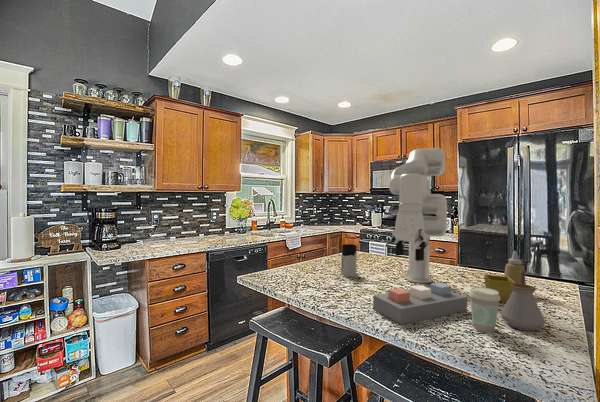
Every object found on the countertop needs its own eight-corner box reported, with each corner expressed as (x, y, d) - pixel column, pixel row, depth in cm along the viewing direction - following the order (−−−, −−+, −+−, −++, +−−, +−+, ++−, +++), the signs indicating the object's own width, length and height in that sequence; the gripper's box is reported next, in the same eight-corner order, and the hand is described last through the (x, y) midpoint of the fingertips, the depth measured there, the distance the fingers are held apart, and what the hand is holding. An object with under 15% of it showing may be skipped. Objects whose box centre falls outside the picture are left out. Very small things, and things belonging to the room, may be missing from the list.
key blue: (429, 296, 114) (430, 283, 114) (439, 295, 116) (439, 282, 116) (440, 301, 109) (441, 287, 109) (450, 299, 111) (450, 286, 111)
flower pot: (507, 298, 123) (508, 276, 123) (515, 305, 115) (515, 282, 114) (483, 295, 126) (483, 274, 126) (488, 302, 117) (489, 279, 117)
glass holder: (358, 276, 153) (359, 246, 152) (330, 275, 153) (331, 246, 153) (355, 271, 161) (356, 244, 161) (329, 271, 162) (329, 243, 161)
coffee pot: (545, 337, 88) (547, 287, 88) (499, 326, 95) (500, 280, 95) (542, 315, 105) (543, 273, 105) (502, 307, 112) (504, 267, 112)
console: (373, 308, 108) (373, 295, 108) (435, 298, 121) (435, 286, 121) (400, 324, 96) (400, 308, 96) (466, 310, 108) (467, 297, 108)
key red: (388, 303, 105) (388, 289, 105) (399, 302, 108) (399, 288, 107) (398, 308, 101) (398, 294, 101) (409, 306, 103) (409, 292, 103)
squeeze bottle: (529, 296, 126) (530, 253, 126) (508, 294, 128) (509, 252, 127) (519, 290, 134) (520, 250, 134) (499, 288, 136) (500, 249, 135)
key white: (409, 300, 110) (410, 286, 109) (419, 298, 112) (420, 285, 112) (420, 304, 105) (420, 290, 105) (430, 303, 107) (431, 289, 107)
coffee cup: (462, 322, 98) (463, 286, 98) (486, 322, 98) (487, 286, 98) (479, 335, 89) (481, 295, 89) (506, 334, 90) (507, 294, 90)
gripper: (385, 208, 111) (384, 253, 112) (420, 210, 95) (419, 263, 96) (401, 208, 114) (400, 252, 114) (438, 210, 98) (436, 262, 99)
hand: (409, 257), depth 105 cm, fingers open, 9 cm apart
